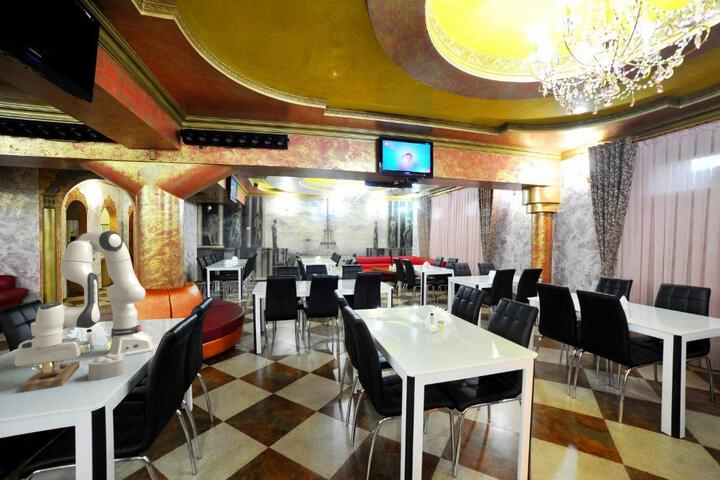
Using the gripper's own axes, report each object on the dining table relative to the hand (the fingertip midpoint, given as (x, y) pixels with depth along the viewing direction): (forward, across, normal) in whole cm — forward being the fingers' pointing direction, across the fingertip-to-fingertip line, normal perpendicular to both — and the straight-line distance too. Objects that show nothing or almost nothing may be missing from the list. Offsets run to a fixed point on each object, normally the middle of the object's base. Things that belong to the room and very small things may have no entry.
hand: (48, 371), depth 130 cm
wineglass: (+5, +10, -26) cm, 28 cm away
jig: (+5, 0, -5) cm, 7 cm away
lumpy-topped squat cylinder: (+5, -20, +1) cm, 21 cm away
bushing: (+3, 0, 0) cm, 3 cm away
